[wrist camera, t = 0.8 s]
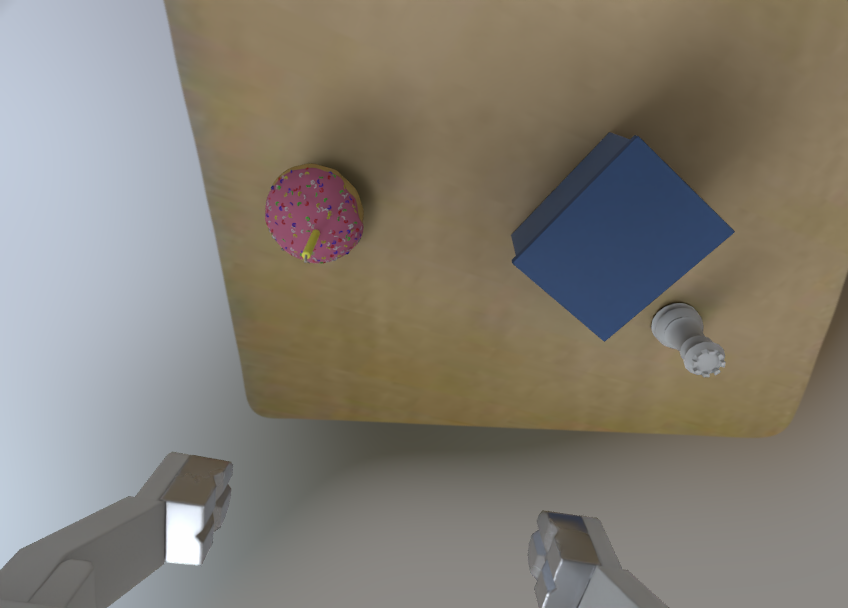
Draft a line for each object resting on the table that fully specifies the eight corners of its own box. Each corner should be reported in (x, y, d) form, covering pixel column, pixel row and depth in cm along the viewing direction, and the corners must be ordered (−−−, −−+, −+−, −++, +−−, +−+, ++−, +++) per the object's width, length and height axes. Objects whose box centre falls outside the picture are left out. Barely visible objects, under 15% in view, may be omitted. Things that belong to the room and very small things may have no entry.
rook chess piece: (662, 349, 49) (694, 395, 42) (641, 316, 48) (671, 357, 41) (705, 327, 48) (747, 371, 40) (685, 292, 46) (724, 331, 39)
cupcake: (391, 204, 46) (365, 243, 35) (334, 264, 49) (294, 316, 38) (321, 137, 44) (271, 155, 33) (266, 203, 47) (203, 240, 36)
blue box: (609, 126, 41) (638, 135, 34) (692, 207, 43) (735, 232, 36) (506, 235, 46) (511, 263, 39) (585, 303, 48) (604, 342, 41)
